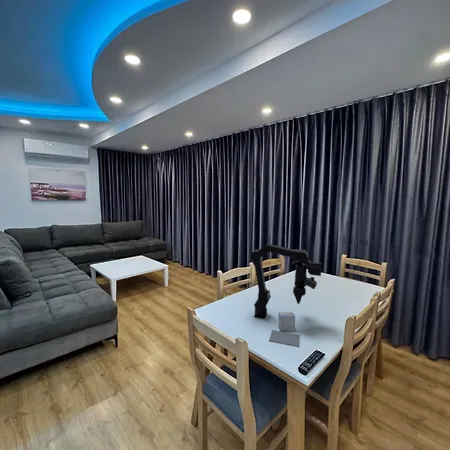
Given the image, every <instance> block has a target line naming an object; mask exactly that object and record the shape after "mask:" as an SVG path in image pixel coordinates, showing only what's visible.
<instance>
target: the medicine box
mask: <svg viewBox="0 0 450 450" xmlns="http://www.w3.org/2000/svg"><path fill="white" fill-rule="evenodd" d="M277 322H278V325H277V326H278V329H279V331H281V332H295V331H296V315H295V314H294V312H293V311H281V312H280V311H279V312H278V321H277Z"/></svg>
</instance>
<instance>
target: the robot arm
mask: <svg viewBox="0 0 450 450" xmlns="http://www.w3.org/2000/svg"><path fill="white" fill-rule="evenodd" d="M268 253H273V254H277V255H281V256H286V257H289V258H291V259H293V260H294V261H292V265H293V266H295V273H294V286H293V288H292V290H293V291H292V294H293V295H294V298H295V301H296V303H297V304H298V305H300V303H301V300H302V297H303V296H305V295H306V291H307V289H306V287H309V288H311V289H312V290H315V289H316V287H317V284H318V282H317V280H315V277H314V276H316V277H317V276H318V277H321V276H322V263H321V262H312V260H311V259H310V257H309V255H308V254H309V253H308V251H307V250H305V249H291V248H287V247H282V246H280V245H275V244H271V243H267V244H266V245H265V246H263V247H261V248H260V249H254V250H253V251H252V252H251V253H250V259H251V263H252V264H253V266H254V270H255V275H256V282H257V287H258V292H257V293H258V294H257V299H256V300H255V302H254V304H253V306H254V314H253V315H254V316H253V317H254V318H258V319H266V317H267V316H268V308H267V305H268V304H269V301H270V299H271V297H272V296H271V290H270V289H267V287H266V280H265V279H266V278H265V274H264V268H263V267H264V266H263V262H264V261H263V259H264V256H265V255H266V254H268ZM307 274H309V275H311V277H308V276H307Z"/></svg>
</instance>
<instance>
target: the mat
mask: <svg viewBox="0 0 450 450" xmlns="http://www.w3.org/2000/svg"><path fill="white" fill-rule="evenodd" d="M300 338H301V335H300V334H296V333H292V332H288V331H280V330H275V329H272V330H271V333H270V336H269V339H268V342H271V343H277V344H280V345H286V346H292V347H297V348H300Z"/></svg>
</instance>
